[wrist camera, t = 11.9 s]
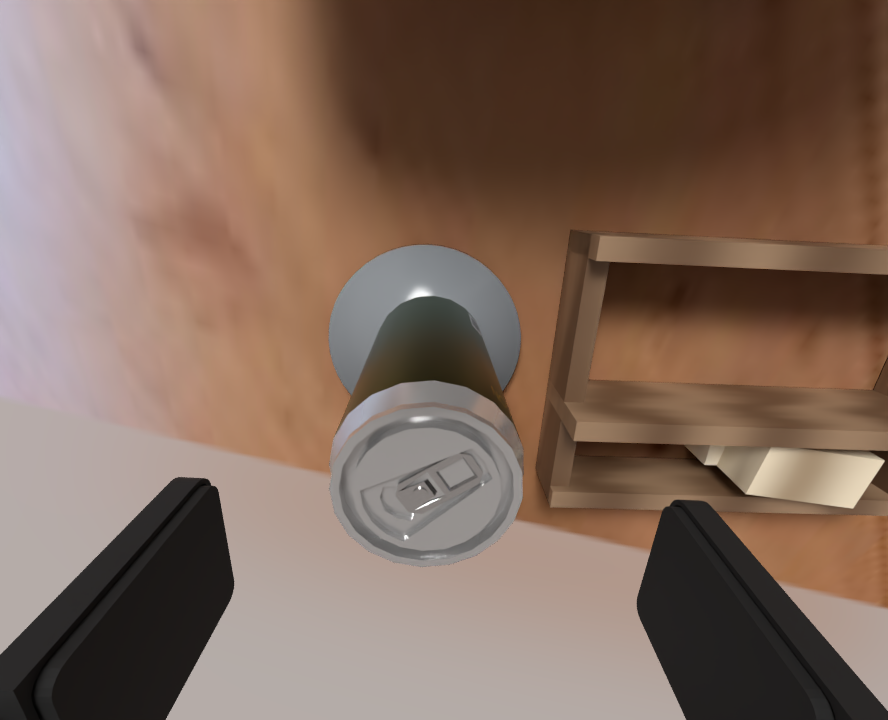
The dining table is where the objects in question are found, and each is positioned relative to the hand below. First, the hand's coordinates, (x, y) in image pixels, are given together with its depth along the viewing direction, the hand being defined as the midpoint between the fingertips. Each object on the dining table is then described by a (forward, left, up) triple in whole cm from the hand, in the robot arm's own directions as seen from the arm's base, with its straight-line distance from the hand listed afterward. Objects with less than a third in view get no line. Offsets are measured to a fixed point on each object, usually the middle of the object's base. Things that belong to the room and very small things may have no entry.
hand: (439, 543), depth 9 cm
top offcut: (-19, +5, -13) cm, 23 cm away
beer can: (0, 0, -14) cm, 14 cm away
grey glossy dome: (+1, 0, -15) cm, 15 cm away
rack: (-16, +2, -15) cm, 22 cm away
